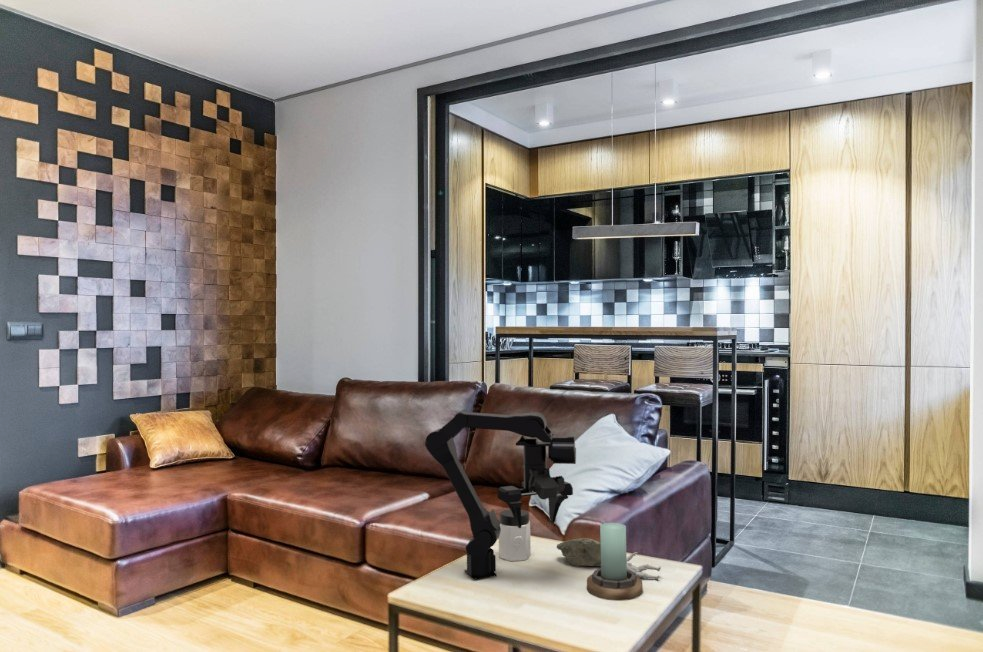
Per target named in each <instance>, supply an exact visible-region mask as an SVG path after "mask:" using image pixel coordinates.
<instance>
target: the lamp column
mask: <svg viewBox="0 0 983 652" xmlns="http://www.w3.org/2000/svg"><path fill="white" fill-rule="evenodd" d="M599 529H600V531H599V532H600V533H599V534H600V543H601V566H600V569H601V578H602V579H604V580H611V581H623V580H627V563H628V562H627V559H626V558H627V526H626V525H625V524H623V523H620V522H604V523H602V524H600V526H599Z"/></svg>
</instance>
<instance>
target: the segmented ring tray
mask: <svg viewBox="0 0 983 652" xmlns="http://www.w3.org/2000/svg"><path fill="white" fill-rule="evenodd" d="M586 590H587V592H588V593H589V594H590V595H592V596H594V597H597V598H599V599H602V600H603V599H604V600H609V601H628V600H634V599H636V598H638V597H640V596H641V595H642V594H643V592H642V591H643V581H642V578H638V577H637V575H636V573H634V572H632V571H630V570H628V569H627V580H623V581H611V580H604V579H602V578H601V568H597V569H595V570H594V571H593V572H592V574H590V575H589V576H588V577H587V578H586Z"/></svg>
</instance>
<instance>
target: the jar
mask: <svg viewBox="0 0 983 652" xmlns="http://www.w3.org/2000/svg"><path fill="white" fill-rule="evenodd" d="M499 521H500V522H501V524H500V528H501V532H500V535H499V537H498V557H499V559H502V560H505V561H508V562H519V561H527V560H528V559H529V558H530V556H531V552H532V551H531V548H532V547H531V521H530V512H529V511H528V510H525V509H521V521H522V524H521V528H518V526H517V524H516V521H515V519H514V516H513V514H512V512H511V510H510V508H509V509H504V510H501V511H500V512H499Z"/></svg>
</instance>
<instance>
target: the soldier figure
mask: <svg viewBox="0 0 983 652" xmlns="http://www.w3.org/2000/svg"><path fill="white" fill-rule="evenodd" d="M636 554H638V552H636V551H635V552H633V553H631V554H629V556H626V559H627V569H628V570H630V571H632V572H634V573H636V575H637V577H638V578H640V579H646V580H647V579H655V580H656V579H657V580H659V578H660V575H651V574H648V573H647V572H645V571H646V570H653V571H657V572H660V571H661V569H662V567H661V566H657V567H656V566H653V565H650V564H649V563H645V564H642V565H638V566H637V565H634V564H632V563H631V562H630V561H631V560H632V559H633V557H635V556H636ZM643 571H644V572H643Z"/></svg>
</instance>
